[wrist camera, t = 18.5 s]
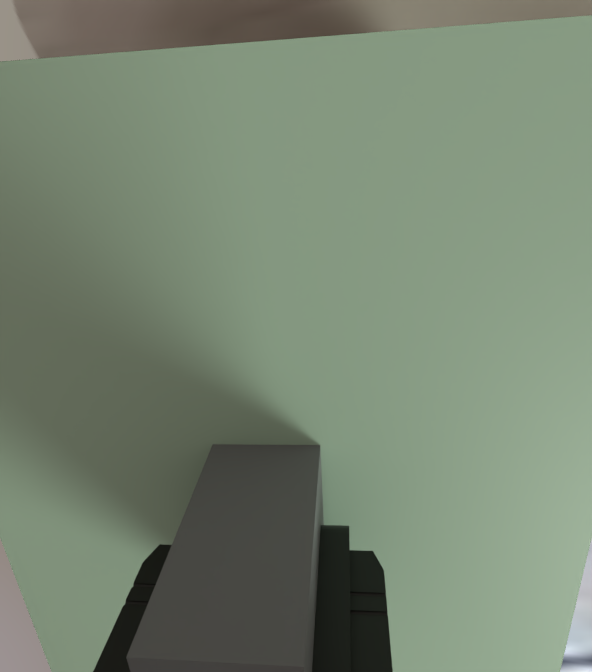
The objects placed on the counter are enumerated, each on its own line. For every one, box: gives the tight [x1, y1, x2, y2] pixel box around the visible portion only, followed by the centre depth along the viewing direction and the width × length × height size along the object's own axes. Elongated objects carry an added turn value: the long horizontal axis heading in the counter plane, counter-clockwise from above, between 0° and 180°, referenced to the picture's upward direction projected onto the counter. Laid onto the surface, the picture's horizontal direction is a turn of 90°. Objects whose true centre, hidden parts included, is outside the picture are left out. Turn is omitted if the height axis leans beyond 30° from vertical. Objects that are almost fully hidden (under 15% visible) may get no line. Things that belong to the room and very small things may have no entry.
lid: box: [0, 15, 592, 672], centre depth 11 cm, size 25×15×6 cm, turn 3°
